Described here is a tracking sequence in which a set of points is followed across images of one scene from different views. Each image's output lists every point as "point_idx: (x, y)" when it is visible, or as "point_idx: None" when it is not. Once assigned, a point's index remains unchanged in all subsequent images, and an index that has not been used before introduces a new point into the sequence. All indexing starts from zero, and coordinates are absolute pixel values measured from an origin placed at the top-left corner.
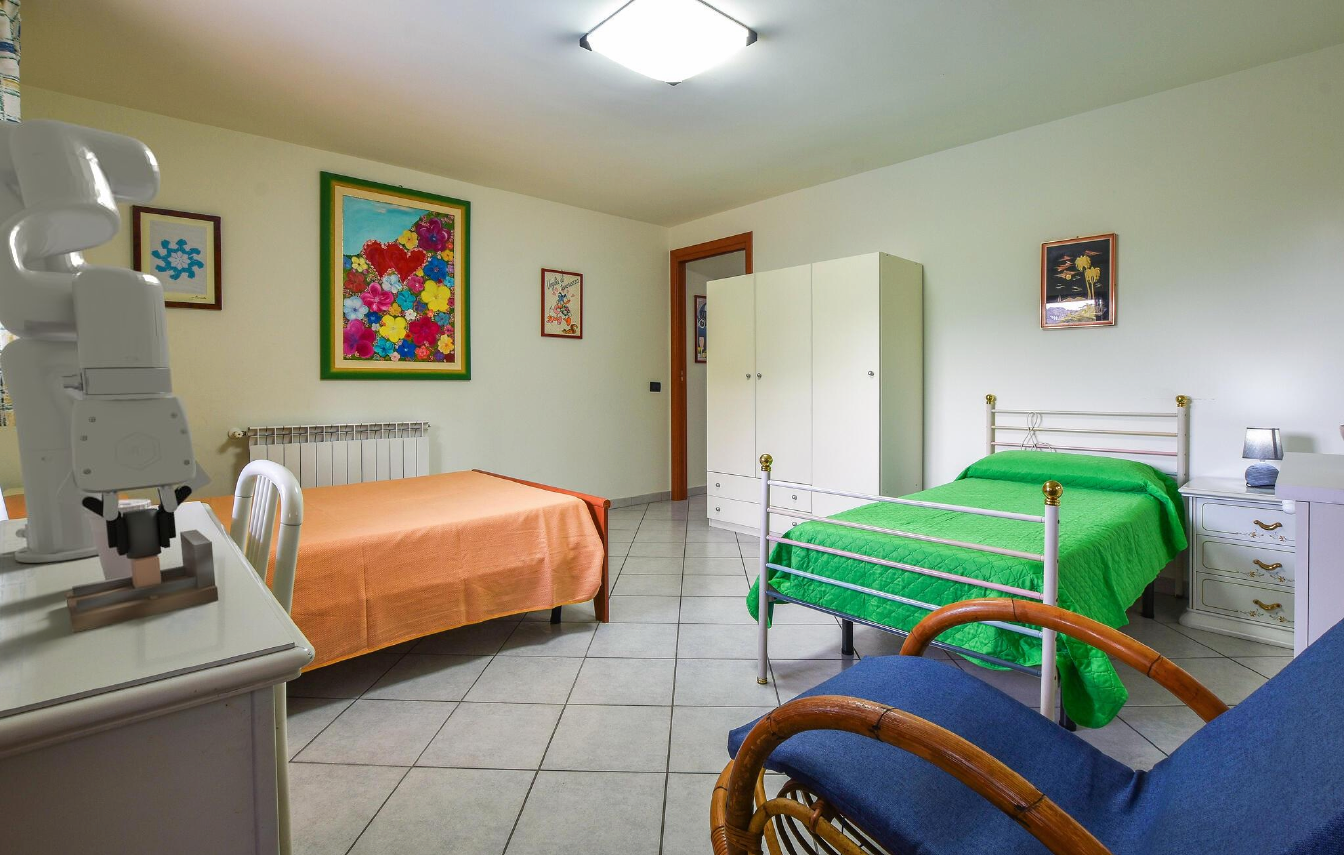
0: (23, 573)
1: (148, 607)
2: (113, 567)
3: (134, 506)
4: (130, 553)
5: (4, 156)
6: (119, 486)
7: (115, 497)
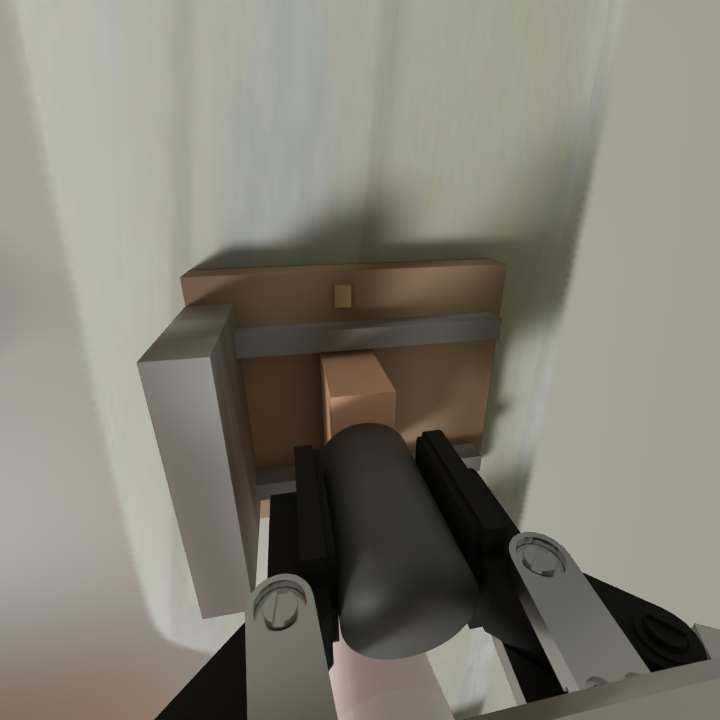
0: (475, 685)
1: (354, 267)
2: None
3: None
4: (406, 446)
5: None
6: (676, 716)
7: (583, 659)
